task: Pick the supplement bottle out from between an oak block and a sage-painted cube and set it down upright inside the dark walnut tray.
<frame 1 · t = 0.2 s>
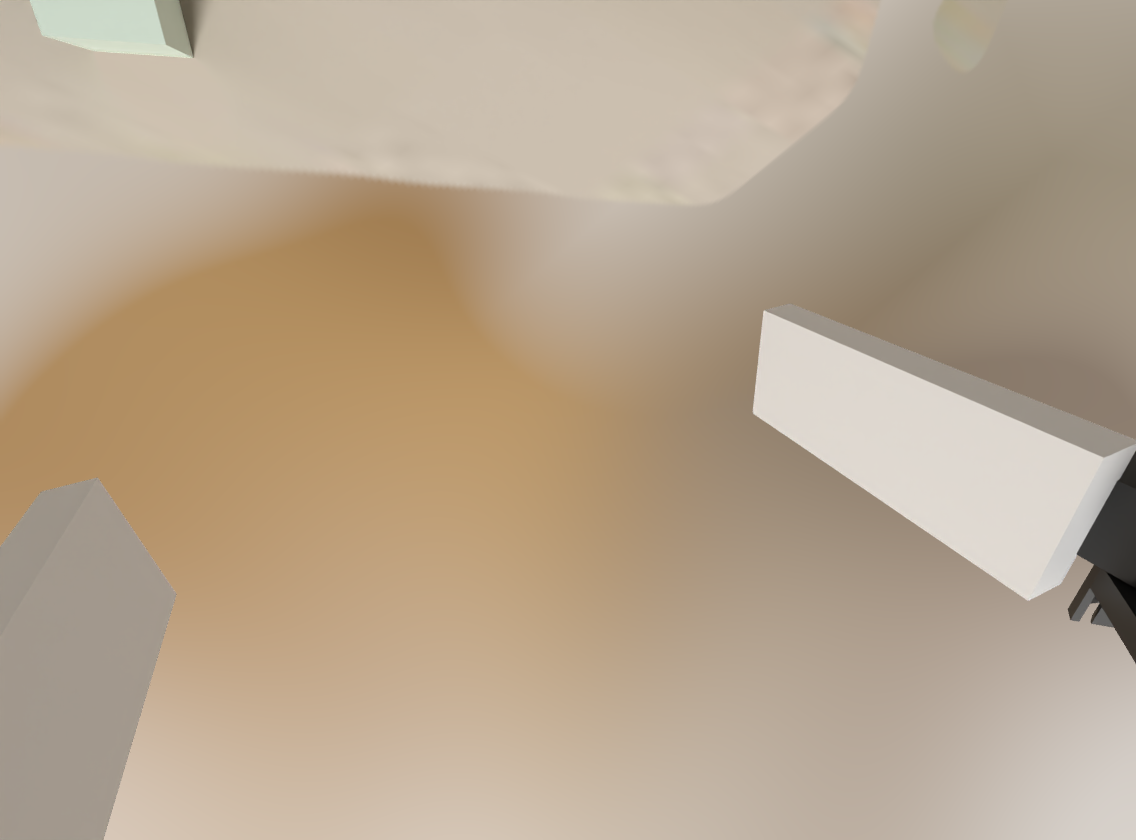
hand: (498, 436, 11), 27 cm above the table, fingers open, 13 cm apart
sage cube: (130, 3, 25), on the table
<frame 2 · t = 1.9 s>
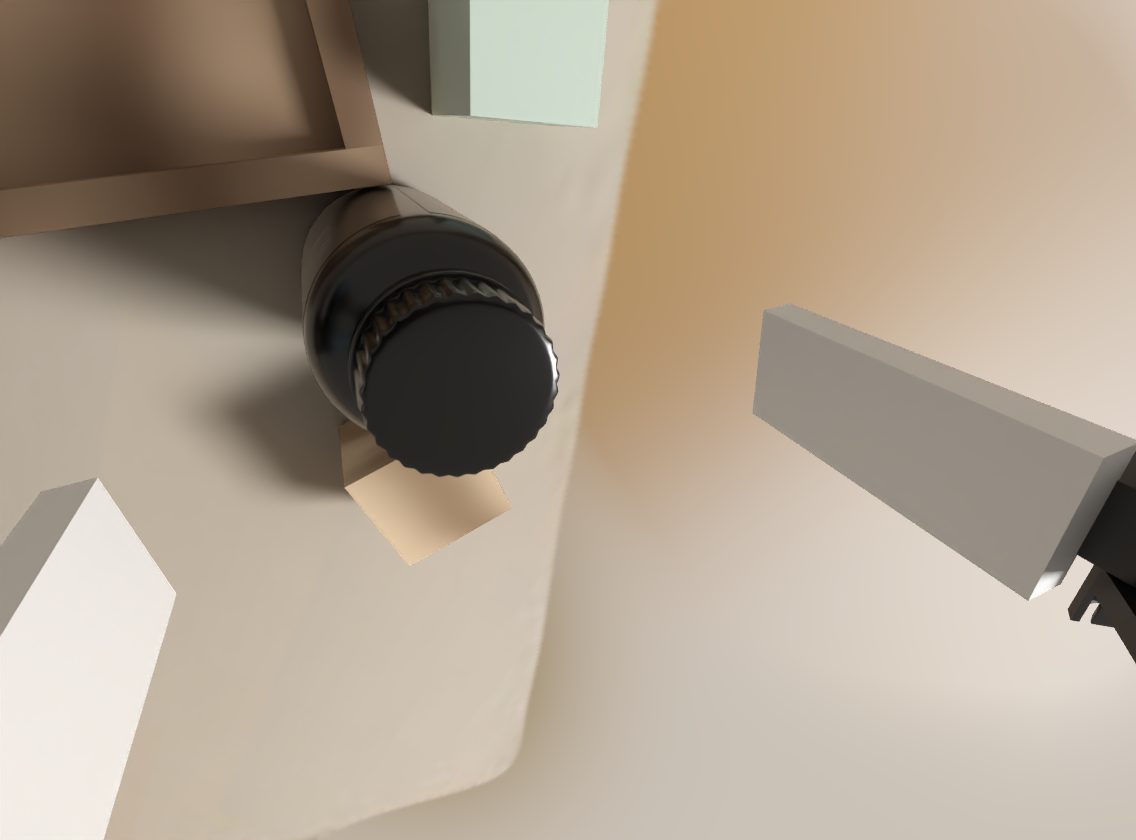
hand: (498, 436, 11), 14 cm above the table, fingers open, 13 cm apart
sage cube: (484, 58, 20), on the table
supplement bottle: (394, 270, 22), on the table
oak block: (415, 439, 26), on the table
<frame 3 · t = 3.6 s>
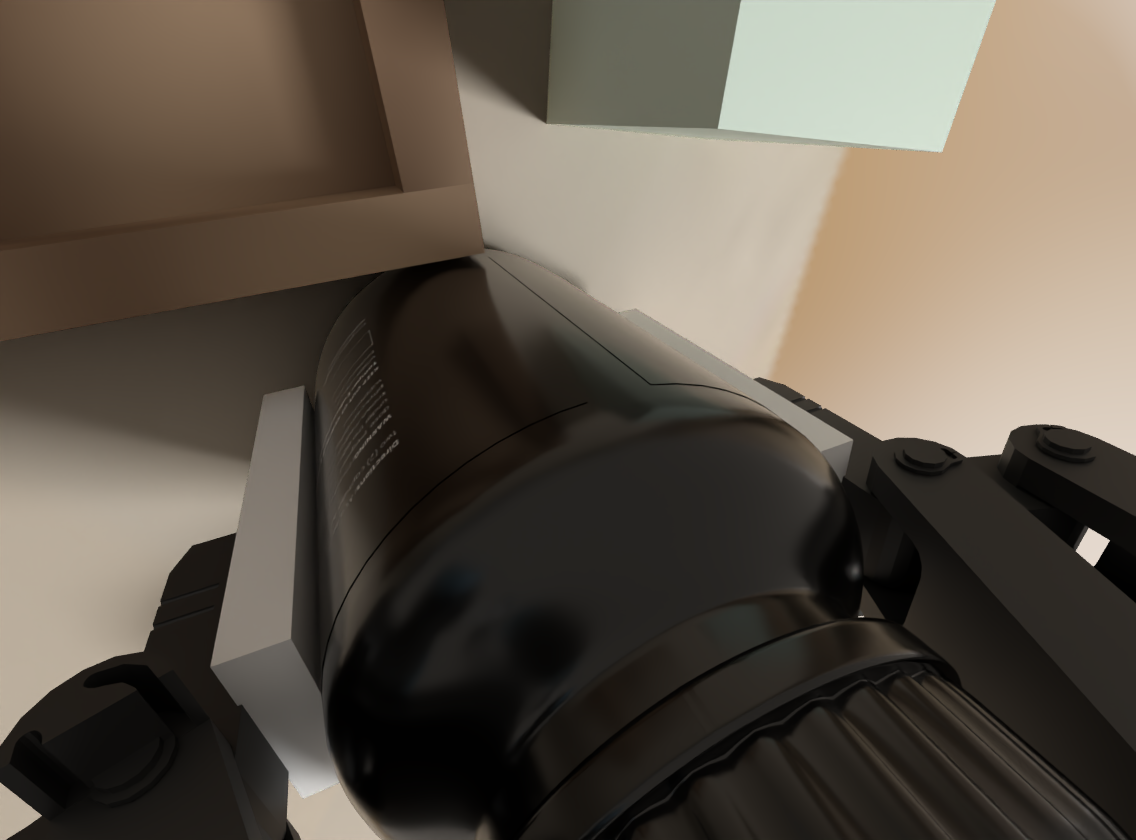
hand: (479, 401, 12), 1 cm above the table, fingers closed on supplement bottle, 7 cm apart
sage cube: (642, 22, 11), on the table
supplement bottle: (467, 380, 13), on the table, touching gripper
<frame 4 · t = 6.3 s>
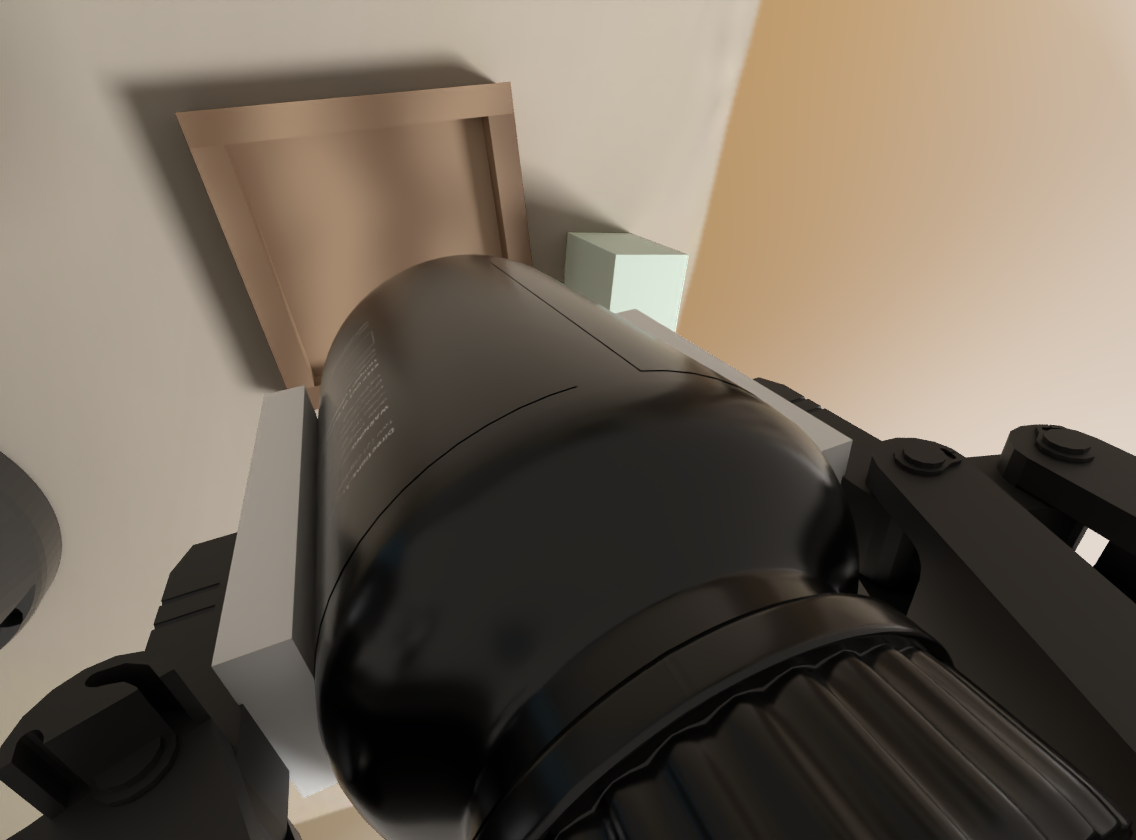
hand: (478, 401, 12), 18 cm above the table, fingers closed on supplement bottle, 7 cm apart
walnut tray: (392, 249, 27), on the table
sage cube: (596, 268, 31), on the table
supplement bottle: (470, 386, 14), point 16 cm above the table, touching gripper
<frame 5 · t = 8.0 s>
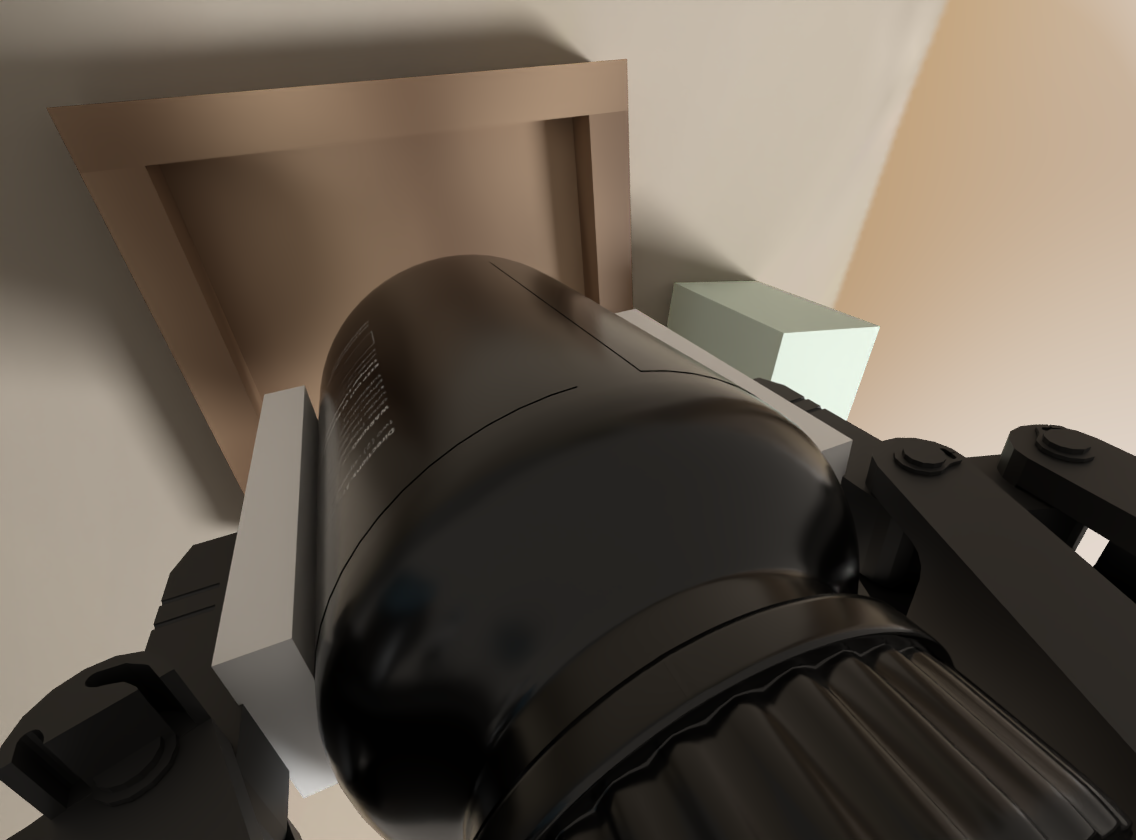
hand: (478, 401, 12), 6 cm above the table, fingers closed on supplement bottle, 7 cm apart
walnut tray: (426, 317, 18), on the table
sage cube: (706, 329, 22), on the table
supplement bottle: (470, 386, 14), point 5 cm above the table, touching gripper
when the fingers open (3 cm above the table, at t = 9.1 s): supplement bottle drops 2 cm, resting on walnut tray.
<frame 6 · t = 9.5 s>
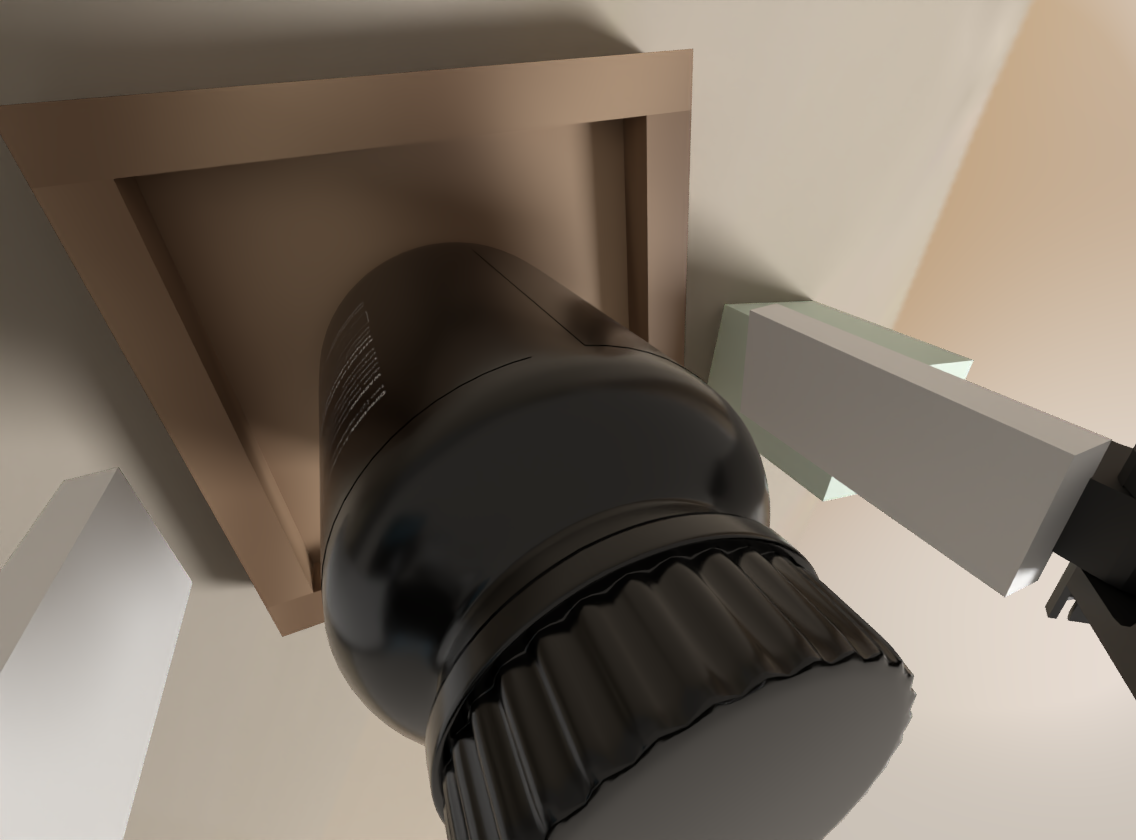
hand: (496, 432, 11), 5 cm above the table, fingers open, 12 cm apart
walnut tray: (449, 348, 15), on the table
sage cube: (756, 355, 20), on the table
supplement bottle: (456, 362, 15), point 1 cm above the table, touching walnut tray
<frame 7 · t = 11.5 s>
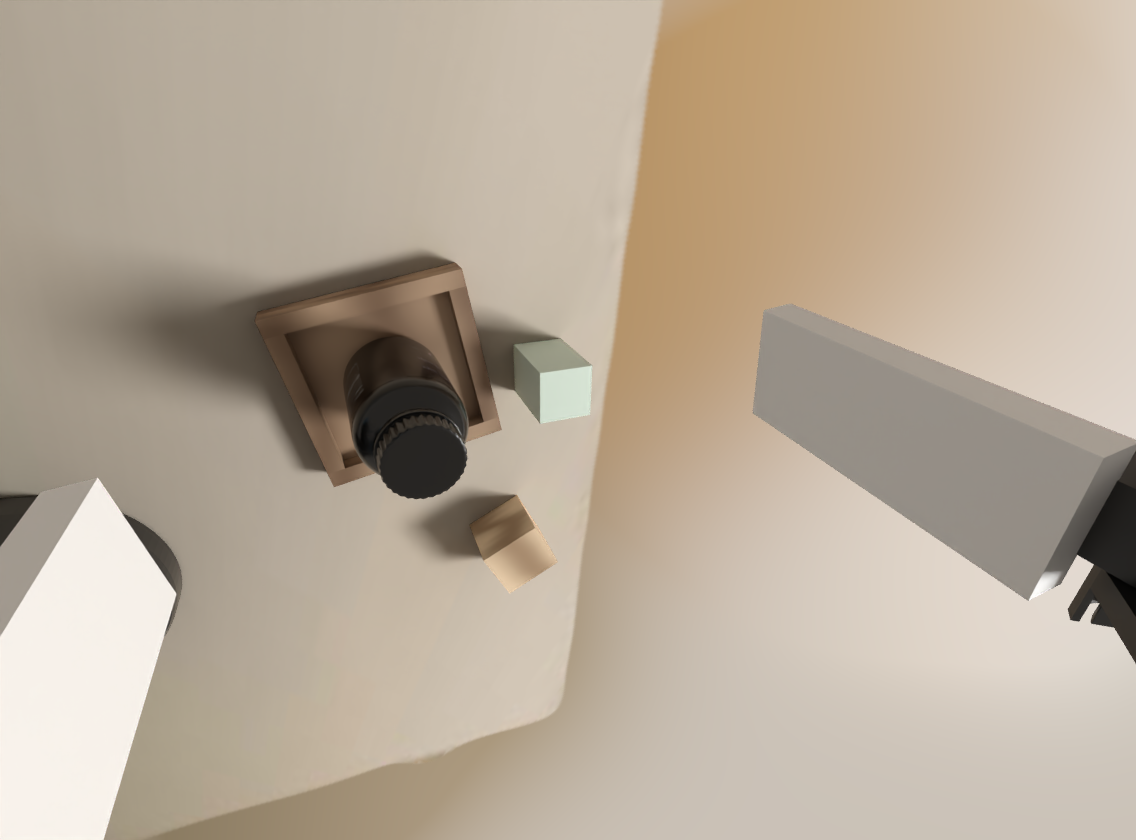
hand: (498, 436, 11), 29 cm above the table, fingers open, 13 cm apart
walnut tray: (391, 372, 39), on the table
sage cube: (537, 364, 44), on the table
supplement bottle: (394, 377, 39), point 1 cm above the table, touching walnut tray
oak block: (505, 526, 50), on the table
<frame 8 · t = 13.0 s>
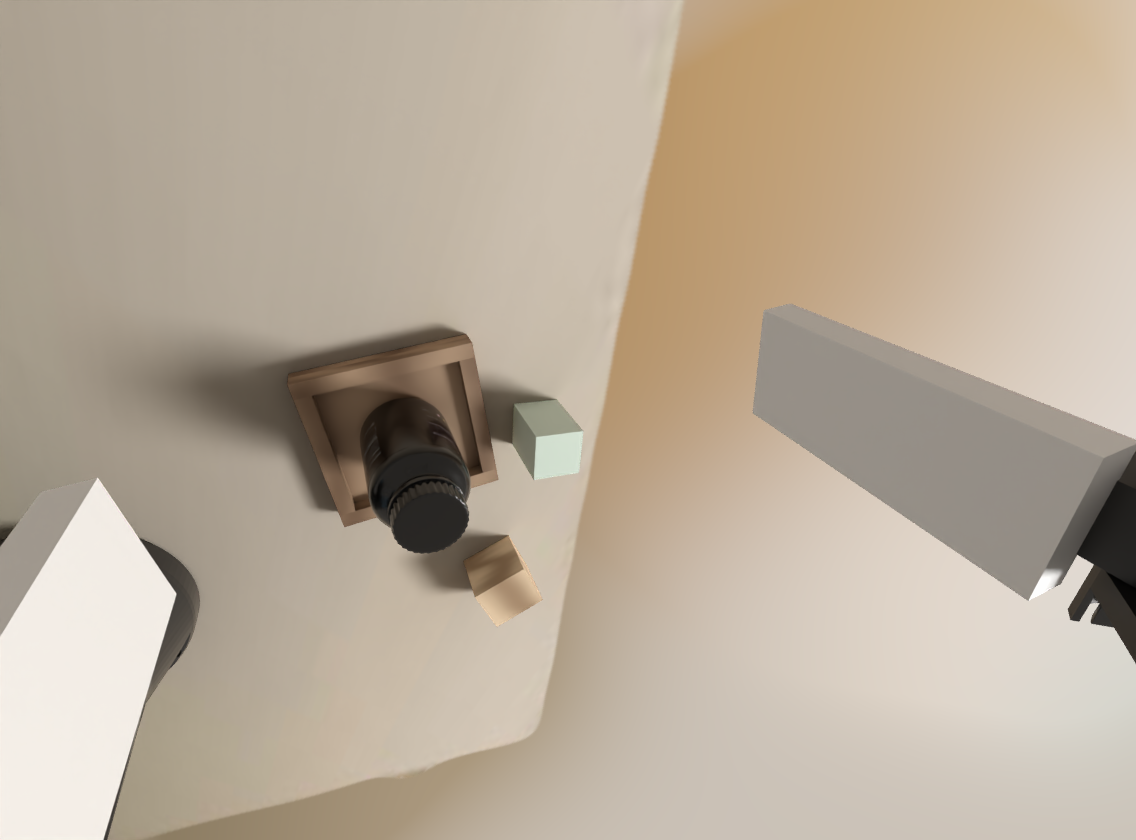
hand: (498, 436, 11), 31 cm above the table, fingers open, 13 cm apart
walnut tray: (402, 426, 44), on the table
sage cube: (534, 421, 48), on the table
supplement bottle: (404, 431, 43), point 1 cm above the table, touching walnut tray
oak block: (495, 562, 54), on the table
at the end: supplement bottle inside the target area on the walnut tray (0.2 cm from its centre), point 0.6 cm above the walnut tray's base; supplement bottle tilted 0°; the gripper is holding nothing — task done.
